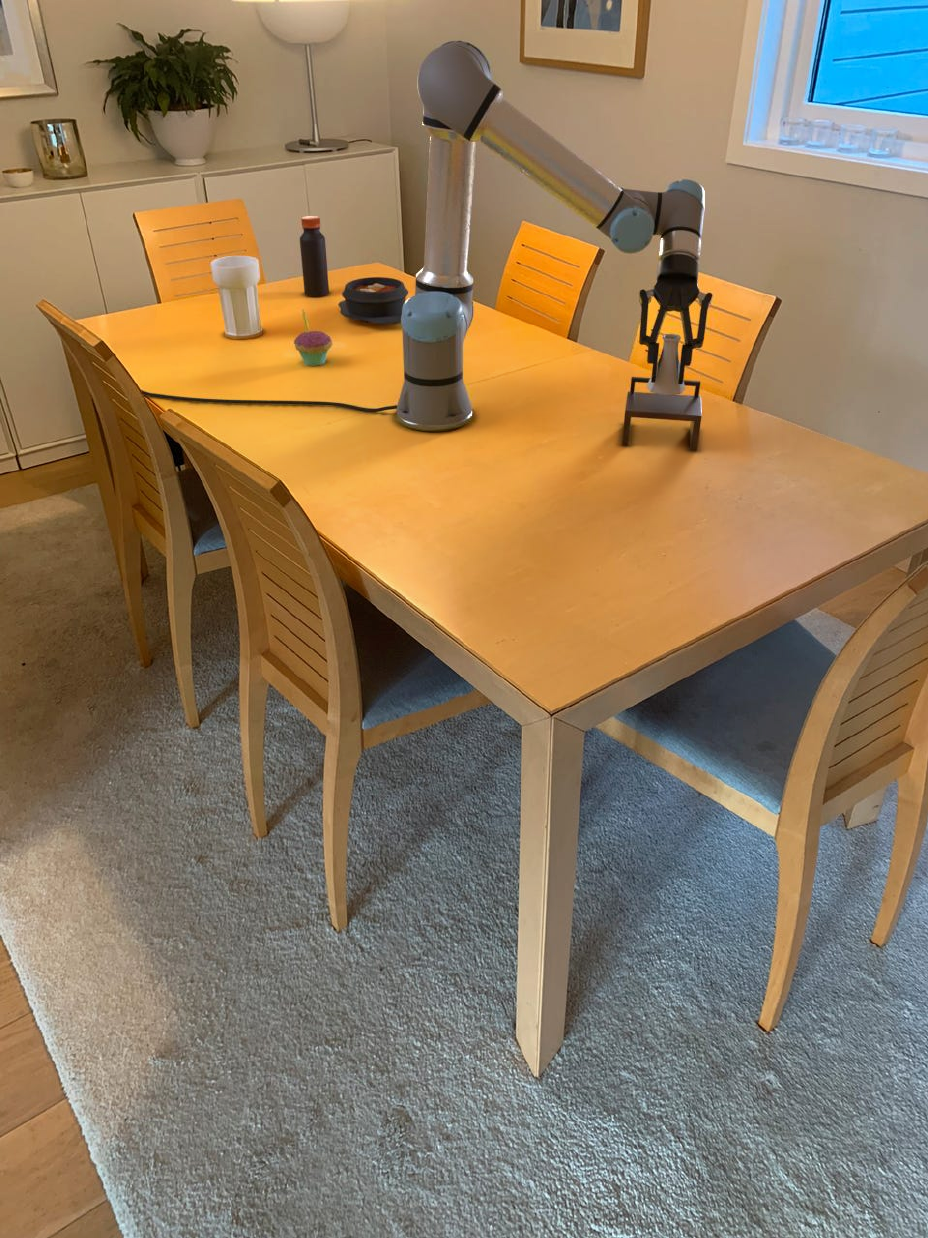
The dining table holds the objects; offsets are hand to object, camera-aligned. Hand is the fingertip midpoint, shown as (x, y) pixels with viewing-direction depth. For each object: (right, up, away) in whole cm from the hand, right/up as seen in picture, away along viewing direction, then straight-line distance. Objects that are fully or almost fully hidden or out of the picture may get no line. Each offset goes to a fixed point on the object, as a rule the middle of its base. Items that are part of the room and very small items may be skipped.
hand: (667, 379), depth 175 cm
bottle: (-78, +47, +94) cm, 131 cm away
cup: (-92, +27, +65) cm, 116 cm away
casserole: (-60, +35, +76) cm, 103 cm away
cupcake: (-71, +16, +47) cm, 87 cm away
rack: (+1, -8, +11) cm, 14 cm away
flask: (+1, -1, +5) cm, 5 cm away
